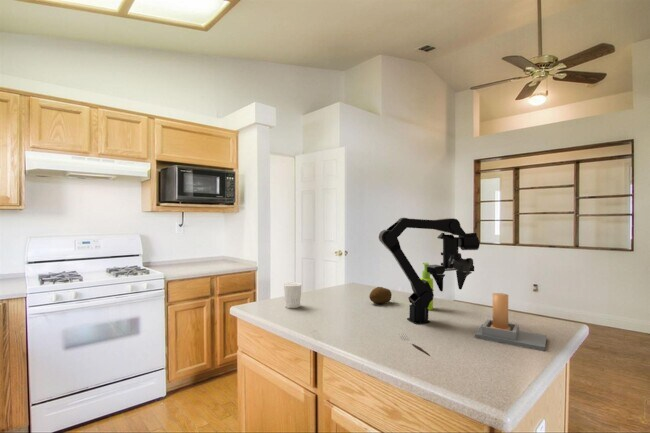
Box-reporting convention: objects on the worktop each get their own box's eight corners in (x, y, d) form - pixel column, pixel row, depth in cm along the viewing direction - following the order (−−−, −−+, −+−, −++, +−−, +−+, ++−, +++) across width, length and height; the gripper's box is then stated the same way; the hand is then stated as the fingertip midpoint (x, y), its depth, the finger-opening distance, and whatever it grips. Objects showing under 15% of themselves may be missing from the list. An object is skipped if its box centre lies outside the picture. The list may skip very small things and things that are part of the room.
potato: (395, 303, 163) (395, 286, 163) (378, 307, 155) (378, 290, 155) (382, 299, 169) (382, 284, 169) (364, 303, 161) (365, 287, 161)
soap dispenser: (430, 306, 157) (431, 262, 157) (434, 310, 151) (434, 264, 150) (417, 305, 158) (418, 262, 158) (420, 309, 151) (420, 264, 151)
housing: (474, 337, 117) (474, 326, 117) (482, 327, 128) (482, 317, 128) (544, 351, 106) (544, 339, 106) (546, 338, 116) (546, 327, 116)
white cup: (280, 307, 153) (281, 285, 153) (287, 303, 161) (288, 282, 161) (297, 309, 151) (297, 286, 151) (303, 304, 158) (304, 283, 158)
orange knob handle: (494, 335, 116) (494, 296, 116) (488, 329, 122) (488, 292, 122) (513, 335, 115) (513, 296, 115) (506, 330, 121) (506, 293, 121)
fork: (425, 357, 101) (425, 351, 101) (398, 339, 116) (398, 333, 116) (433, 356, 102) (433, 349, 102) (405, 338, 117) (405, 332, 117)
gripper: (445, 253, 124) (445, 296, 124) (485, 251, 131) (485, 292, 131) (425, 250, 135) (426, 290, 135) (463, 248, 141) (464, 286, 141)
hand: (450, 290), depth 135 cm, fingers open, 9 cm apart
